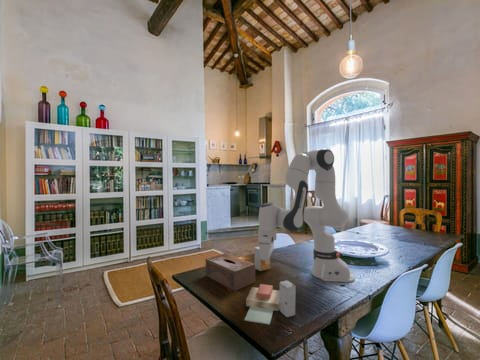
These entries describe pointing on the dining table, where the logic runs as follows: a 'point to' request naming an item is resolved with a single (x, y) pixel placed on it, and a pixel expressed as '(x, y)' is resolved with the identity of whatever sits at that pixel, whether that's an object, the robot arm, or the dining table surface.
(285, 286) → the skincare box
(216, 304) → the dining table surface
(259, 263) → the small box
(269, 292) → the pink tray
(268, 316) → the mat
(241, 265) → the tissue box cover
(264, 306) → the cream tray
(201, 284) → the dining table surface
